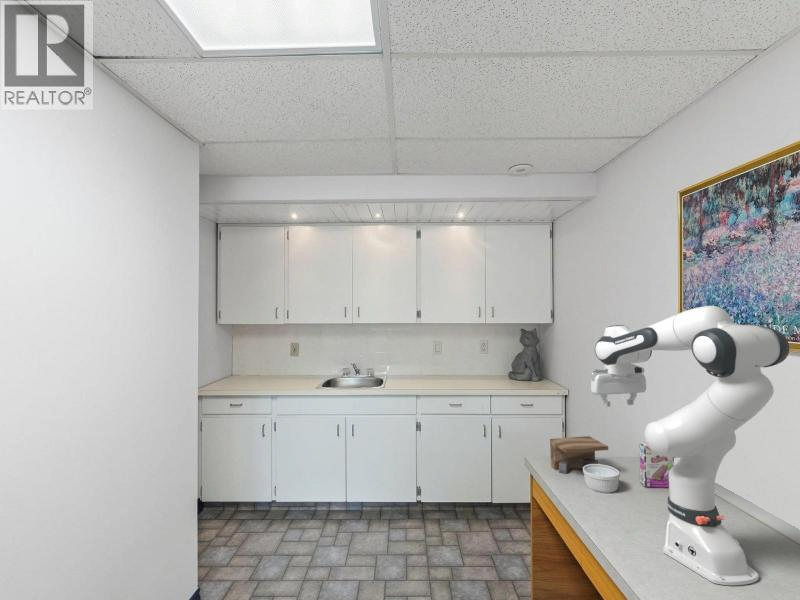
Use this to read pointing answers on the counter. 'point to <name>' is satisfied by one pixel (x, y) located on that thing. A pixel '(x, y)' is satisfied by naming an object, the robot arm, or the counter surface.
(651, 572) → the counter surface
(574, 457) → the walnut shelf
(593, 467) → the ramekin
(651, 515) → the counter surface
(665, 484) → the candy bar box
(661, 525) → the counter surface
